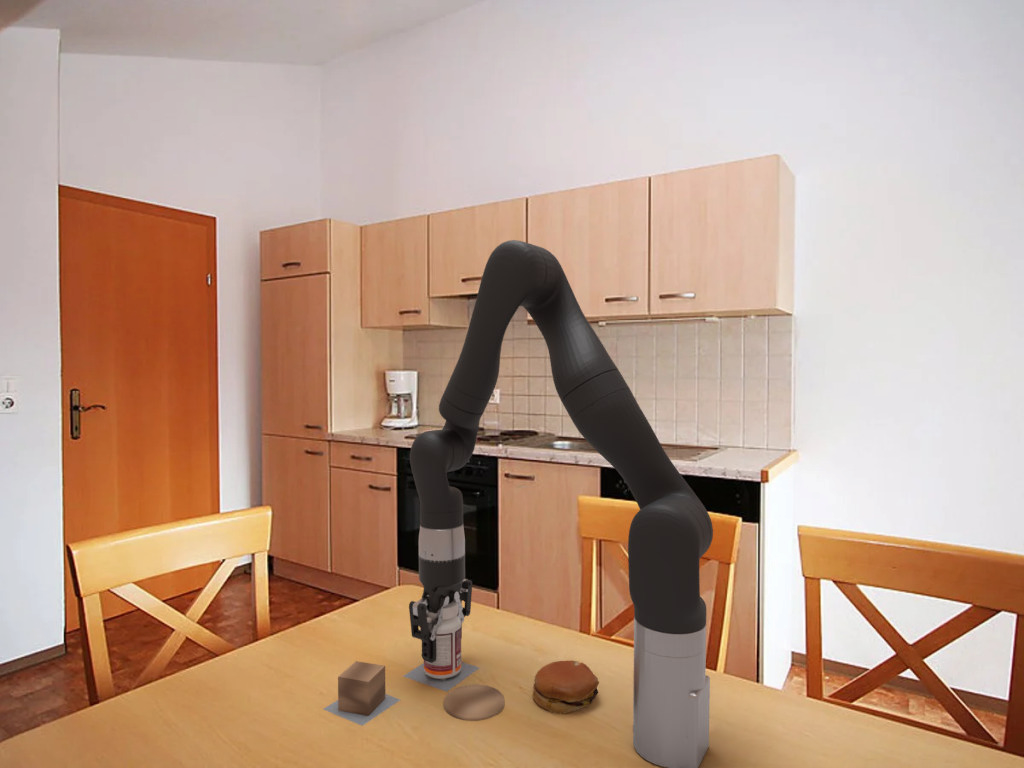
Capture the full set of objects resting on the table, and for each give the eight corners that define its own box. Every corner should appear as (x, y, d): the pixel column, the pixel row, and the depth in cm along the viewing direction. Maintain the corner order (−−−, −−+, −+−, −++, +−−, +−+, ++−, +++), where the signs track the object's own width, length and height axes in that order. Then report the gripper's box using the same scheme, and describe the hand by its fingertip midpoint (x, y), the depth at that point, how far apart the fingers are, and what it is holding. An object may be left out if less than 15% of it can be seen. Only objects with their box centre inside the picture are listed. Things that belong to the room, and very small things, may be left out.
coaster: (515, 698, 96) (515, 694, 96) (481, 728, 88) (481, 723, 88) (467, 682, 100) (467, 678, 100) (431, 709, 93) (431, 705, 93)
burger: (527, 711, 93) (527, 679, 92) (540, 680, 102) (540, 651, 102) (594, 721, 90) (595, 689, 90) (602, 688, 99) (602, 659, 99)
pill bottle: (447, 658, 108) (447, 593, 108) (468, 672, 103) (468, 603, 103) (416, 669, 104) (416, 601, 104) (436, 684, 99) (436, 613, 99)
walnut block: (385, 698, 96) (385, 665, 95) (368, 715, 91) (368, 681, 91) (356, 693, 97) (355, 661, 97) (338, 710, 92) (338, 676, 92)
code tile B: (400, 700, 95) (400, 699, 95) (362, 726, 88) (362, 725, 88) (362, 685, 99) (362, 685, 99) (322, 709, 93) (322, 708, 93)
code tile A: (479, 668, 105) (479, 667, 105) (446, 692, 98) (446, 691, 98) (437, 654, 110) (437, 654, 110) (402, 676, 102) (402, 676, 102)
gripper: (431, 567, 95) (432, 677, 95) (485, 544, 107) (486, 641, 108) (394, 559, 99) (395, 665, 99) (450, 537, 111) (450, 631, 112)
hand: (442, 652), depth 104 cm, fingers closed on pill bottle, 6 cm apart
